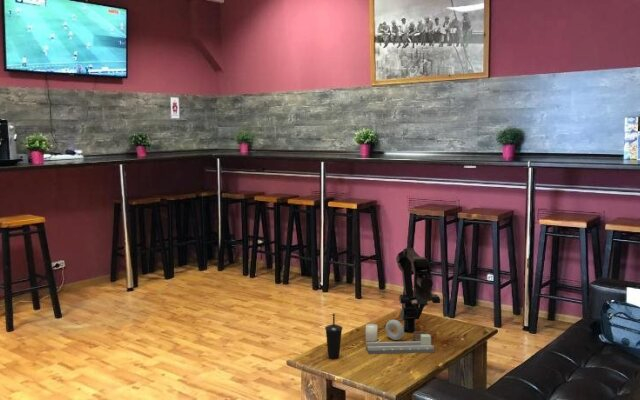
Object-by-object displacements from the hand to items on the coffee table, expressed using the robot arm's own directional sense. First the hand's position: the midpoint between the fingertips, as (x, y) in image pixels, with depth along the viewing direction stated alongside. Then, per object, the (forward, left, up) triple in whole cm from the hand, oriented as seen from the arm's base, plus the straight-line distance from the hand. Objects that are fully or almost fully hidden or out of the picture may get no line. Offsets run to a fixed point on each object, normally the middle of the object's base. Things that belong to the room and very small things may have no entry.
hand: (419, 316), depth 284 cm
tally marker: (+11, +1, -10) cm, 15 cm away
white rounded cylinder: (-3, -22, -12) cm, 25 cm away
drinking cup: (+18, -42, -12) cm, 48 cm away
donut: (-2, -11, -12) cm, 17 cm away
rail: (+11, -11, -12) cm, 20 cm away
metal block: (0, +1, -12) cm, 12 cm away
